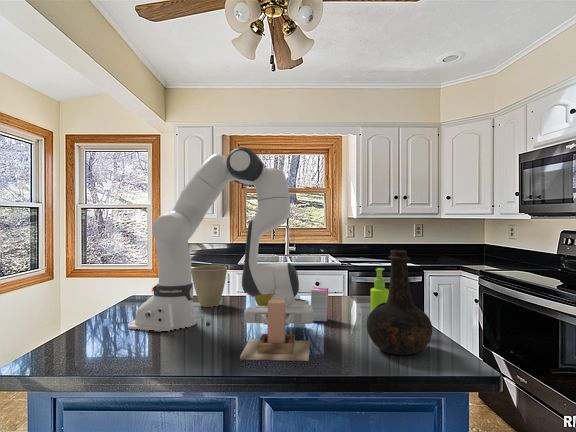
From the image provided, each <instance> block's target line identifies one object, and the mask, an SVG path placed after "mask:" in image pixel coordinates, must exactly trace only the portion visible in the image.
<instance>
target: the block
mask: <svg viewBox="0 0 576 432" xmlns="http://www.w3.org/2000/svg"><path fill="white" fill-rule="evenodd" d="M267 334H268V343H285V342H286V334H287V333H286V325H285V300H269V301H268V325H267Z"/></svg>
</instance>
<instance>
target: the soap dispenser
mask: <svg viewBox="0 0 576 432" xmlns="http://www.w3.org/2000/svg"><path fill="white" fill-rule="evenodd" d="M384 270H386V269H385V268H384V267H377V268H375V272H376V277H375V278H373V281H374V283H373V285H374V286H373V287H372V288H370V295H369V296H370V313H371V312H372V310H374V309H375V307H376V306H378V305H379V304H381V303H386V302H387V300H388V295H389V289H388V288H385V287H386V285H385V284H386V282H385V280H386V279H385V278H384V277H383V271H384Z"/></svg>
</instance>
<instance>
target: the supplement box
mask: <svg viewBox="0 0 576 432" xmlns="http://www.w3.org/2000/svg"><path fill="white" fill-rule="evenodd" d="M310 305H311V307H312V309H313V323H318V324H326V323H327V321H328V318H329V317H328V316H329V288H328V287H316V286H315V287H314V286H313V288H311V289H310Z"/></svg>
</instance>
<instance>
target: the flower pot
mask: <svg viewBox="0 0 576 432" xmlns="http://www.w3.org/2000/svg"><path fill="white" fill-rule="evenodd" d="M274 294H275V293H273V294H262V295H259V296H254V300H255V302H256V304H257V306H267V305H268V301H269V300H271V298H272V296H273V295H274Z"/></svg>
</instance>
